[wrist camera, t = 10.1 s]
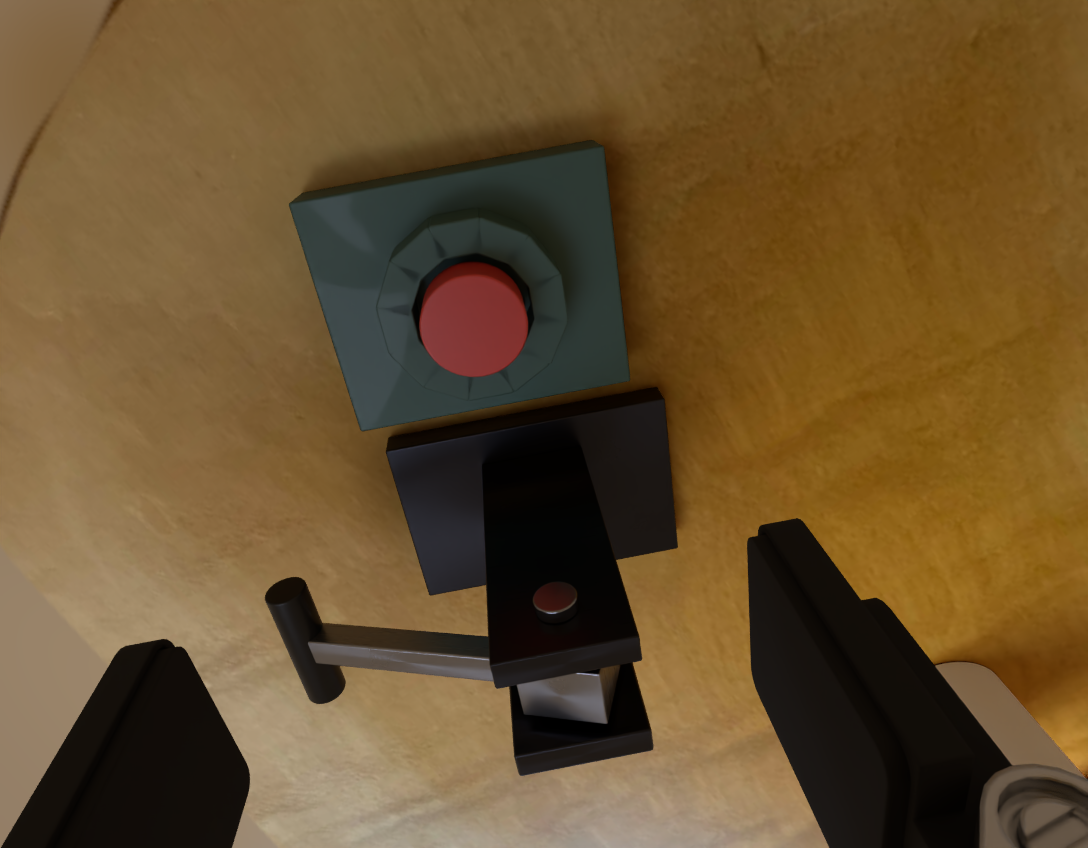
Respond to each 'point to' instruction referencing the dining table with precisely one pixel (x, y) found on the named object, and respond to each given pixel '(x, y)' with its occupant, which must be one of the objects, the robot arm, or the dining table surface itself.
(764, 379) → the dining table surface
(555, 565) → the bracket
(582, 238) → the button box
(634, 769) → the dining table surface
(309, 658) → the lever
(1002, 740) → the cup
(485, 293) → the button
